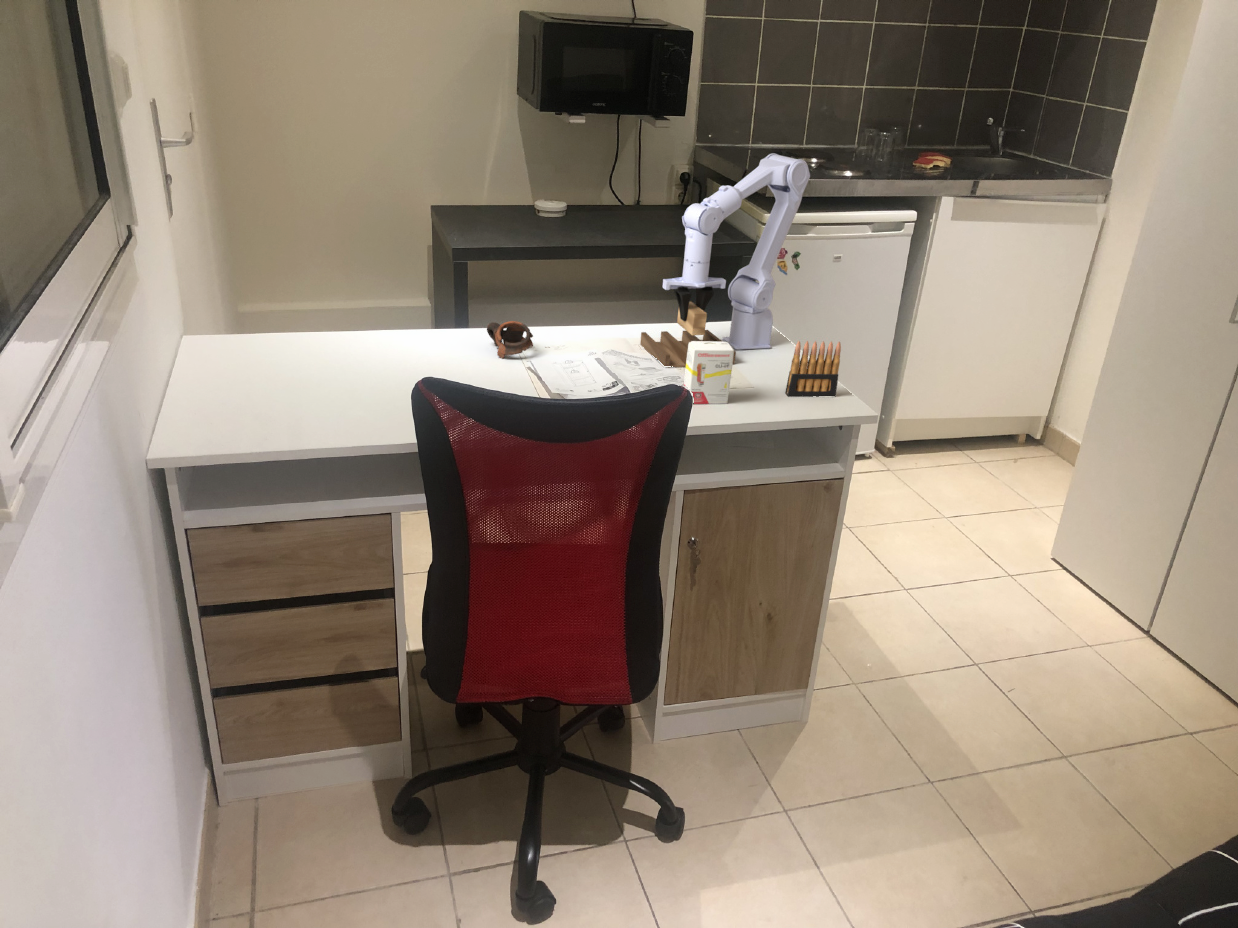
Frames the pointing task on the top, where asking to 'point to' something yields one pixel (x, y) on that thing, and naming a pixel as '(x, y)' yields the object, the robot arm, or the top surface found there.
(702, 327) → the tall wooden plank
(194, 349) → the top surface
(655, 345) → the notched ledge
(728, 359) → the ink box
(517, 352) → the pottery mug
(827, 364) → the ammunition clip
